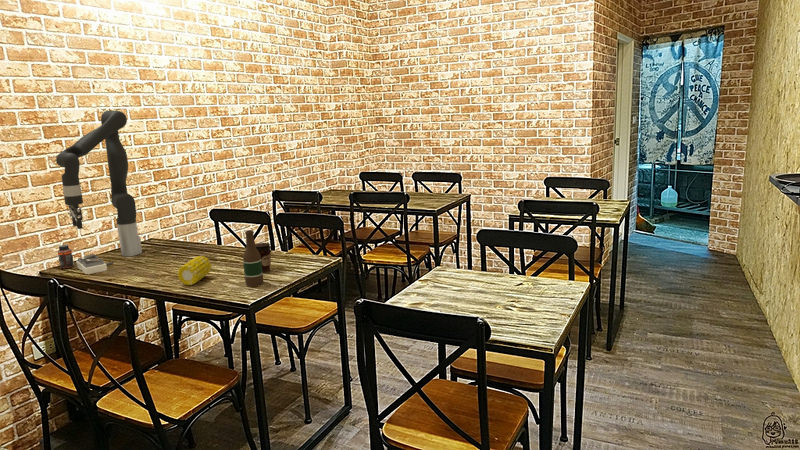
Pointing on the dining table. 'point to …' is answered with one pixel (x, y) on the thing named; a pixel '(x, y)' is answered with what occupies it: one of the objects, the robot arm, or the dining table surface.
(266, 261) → the coffee cup
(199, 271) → the food
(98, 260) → the rocker
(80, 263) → the rocker switch panel
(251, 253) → the beer bottle
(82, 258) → the rocker
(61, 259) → the supplement bottle
